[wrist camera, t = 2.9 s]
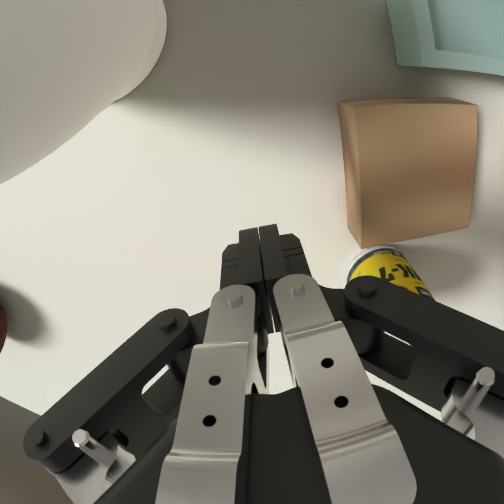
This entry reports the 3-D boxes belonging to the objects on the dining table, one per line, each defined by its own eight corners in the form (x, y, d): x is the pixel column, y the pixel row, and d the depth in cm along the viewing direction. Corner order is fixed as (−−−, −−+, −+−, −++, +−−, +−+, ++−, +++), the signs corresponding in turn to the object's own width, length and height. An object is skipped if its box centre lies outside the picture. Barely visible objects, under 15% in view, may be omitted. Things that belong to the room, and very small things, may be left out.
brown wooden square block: (335, 100, 16) (354, 107, 13) (448, 97, 15) (477, 105, 13) (346, 224, 20) (361, 249, 17) (445, 207, 19) (468, 227, 17)
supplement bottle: (412, 246, 21) (472, 327, 13) (389, 297, 23) (433, 381, 16) (355, 239, 20) (408, 331, 13) (335, 294, 22) (370, 389, 15)
